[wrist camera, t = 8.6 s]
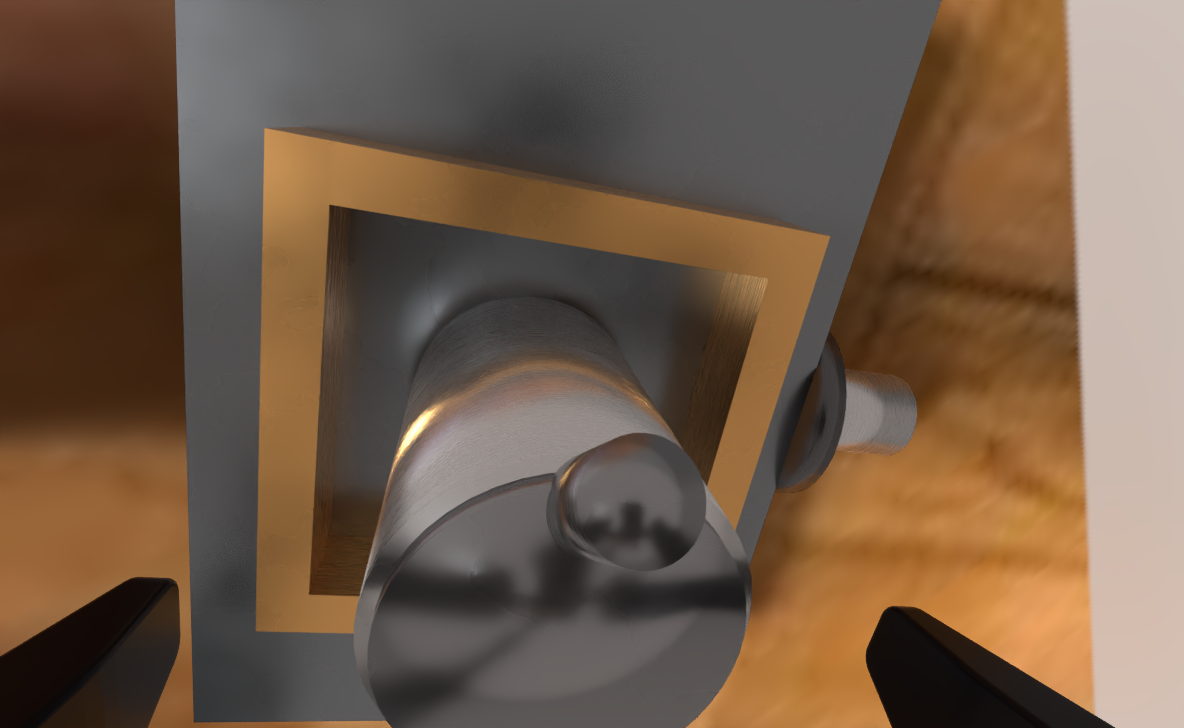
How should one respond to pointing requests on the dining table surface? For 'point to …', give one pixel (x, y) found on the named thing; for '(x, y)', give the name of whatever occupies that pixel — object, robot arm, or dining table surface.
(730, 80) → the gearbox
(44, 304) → the dining table surface
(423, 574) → the silver calibration weight
